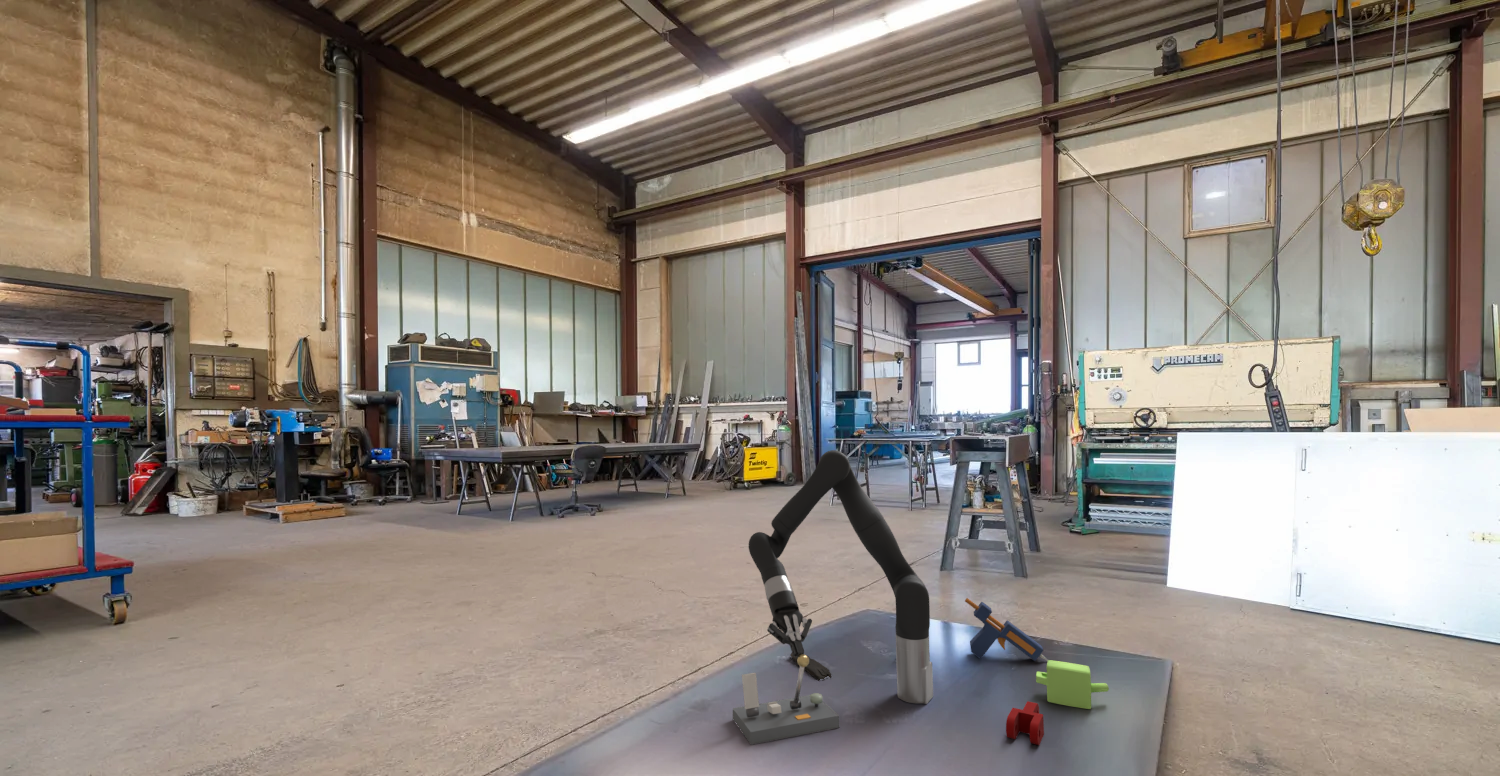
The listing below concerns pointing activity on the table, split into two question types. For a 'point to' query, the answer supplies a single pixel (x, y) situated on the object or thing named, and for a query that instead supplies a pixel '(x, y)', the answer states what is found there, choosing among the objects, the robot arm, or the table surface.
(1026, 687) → the table surface
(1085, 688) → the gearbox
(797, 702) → the brass lever
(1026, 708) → the mechanical linkage
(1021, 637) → the glue gun
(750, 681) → the pale grey paddle
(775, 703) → the white rocker switch
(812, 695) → the push button
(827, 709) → the control panel
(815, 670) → the wood
